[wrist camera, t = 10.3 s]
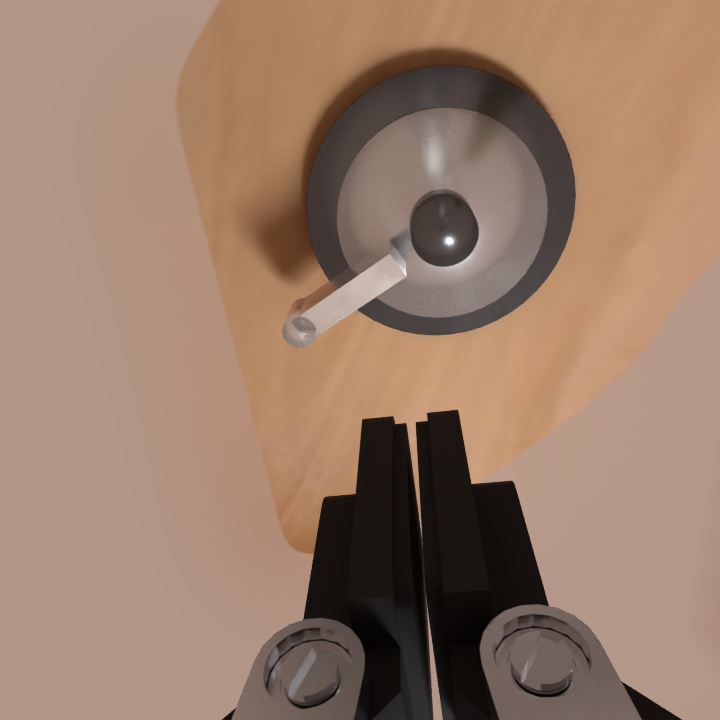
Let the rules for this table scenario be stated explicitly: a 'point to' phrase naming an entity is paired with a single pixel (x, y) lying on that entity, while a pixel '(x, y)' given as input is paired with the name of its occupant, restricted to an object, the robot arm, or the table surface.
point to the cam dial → (431, 221)
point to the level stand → (437, 91)
